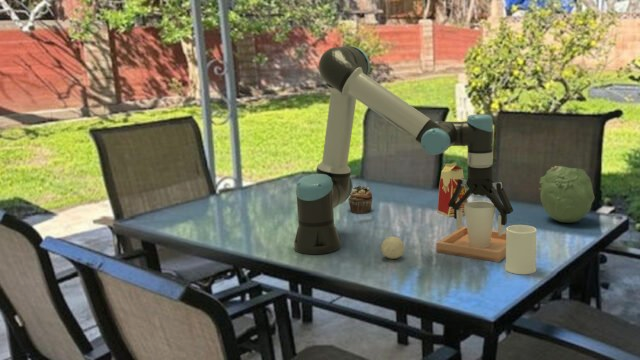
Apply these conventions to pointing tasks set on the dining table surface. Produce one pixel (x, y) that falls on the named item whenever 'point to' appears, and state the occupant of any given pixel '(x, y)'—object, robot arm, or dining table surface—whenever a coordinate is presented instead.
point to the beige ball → (392, 247)
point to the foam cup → (479, 222)
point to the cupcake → (360, 200)
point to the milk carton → (450, 189)
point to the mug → (520, 249)
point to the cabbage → (566, 193)
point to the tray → (460, 246)
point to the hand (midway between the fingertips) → (479, 231)
